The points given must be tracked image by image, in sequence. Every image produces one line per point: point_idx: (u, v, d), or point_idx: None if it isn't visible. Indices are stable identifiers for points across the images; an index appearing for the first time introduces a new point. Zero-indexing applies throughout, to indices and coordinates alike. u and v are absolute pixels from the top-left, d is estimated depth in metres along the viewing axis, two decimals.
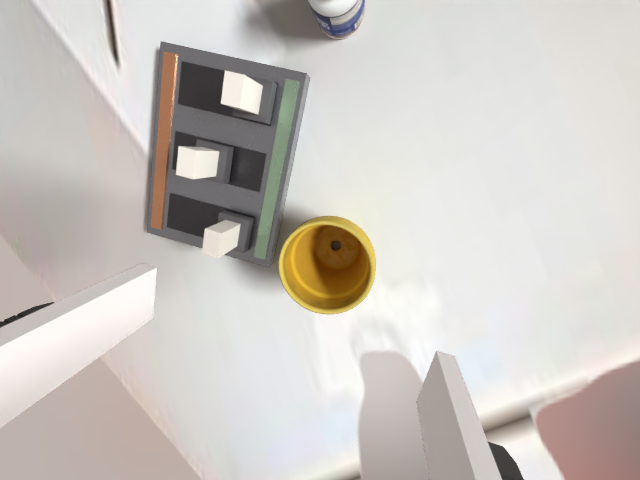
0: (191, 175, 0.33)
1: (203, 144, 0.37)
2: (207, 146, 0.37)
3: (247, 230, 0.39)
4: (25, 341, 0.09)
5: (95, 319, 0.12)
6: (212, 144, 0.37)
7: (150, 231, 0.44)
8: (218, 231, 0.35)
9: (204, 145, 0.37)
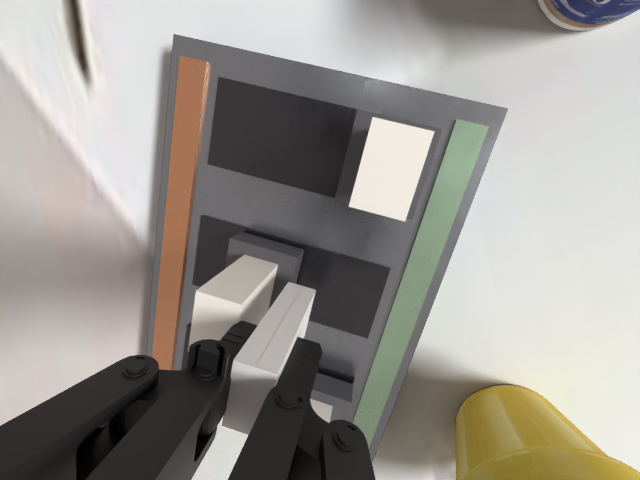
0: None
1: (243, 249, 0.18)
2: (252, 253, 0.18)
3: (345, 417, 0.20)
4: None
5: None
6: (263, 250, 0.17)
7: None
8: None
9: (247, 250, 0.18)
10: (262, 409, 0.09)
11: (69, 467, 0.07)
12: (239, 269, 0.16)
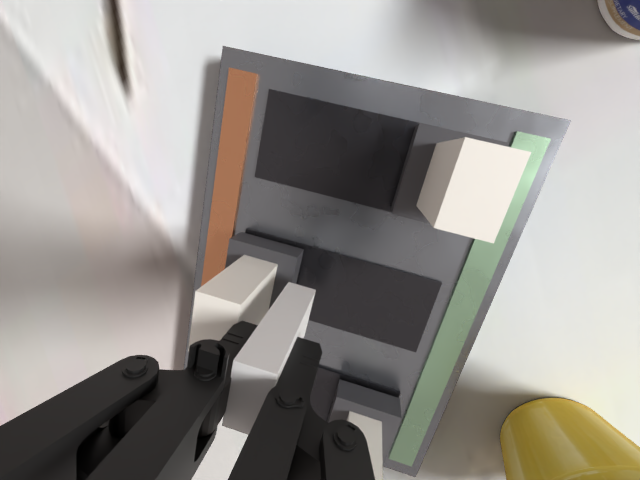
0: None
1: (243, 249, 0.18)
2: (252, 253, 0.18)
3: (394, 432, 0.19)
4: None
5: None
6: (263, 250, 0.17)
7: None
8: None
9: (246, 251, 0.18)
10: (262, 409, 0.09)
11: (70, 466, 0.07)
12: (239, 269, 0.16)
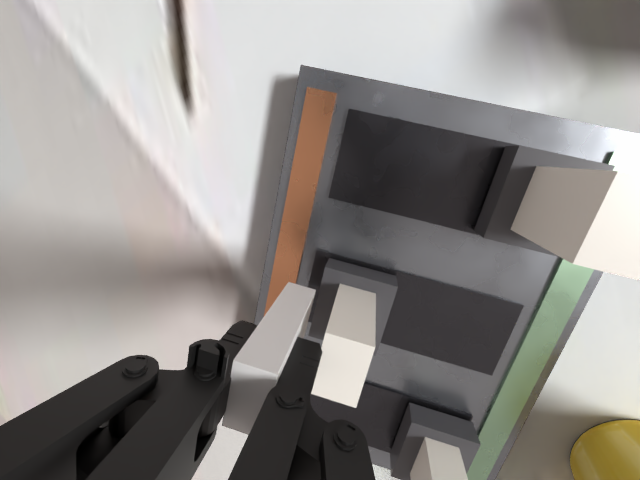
0: (351, 400, 0.13)
1: (339, 278, 0.17)
2: (348, 282, 0.17)
3: (471, 458, 0.19)
4: None
5: None
6: (361, 279, 0.17)
7: None
8: None
9: (342, 279, 0.17)
10: (262, 409, 0.09)
11: (70, 467, 0.07)
12: (346, 302, 0.15)
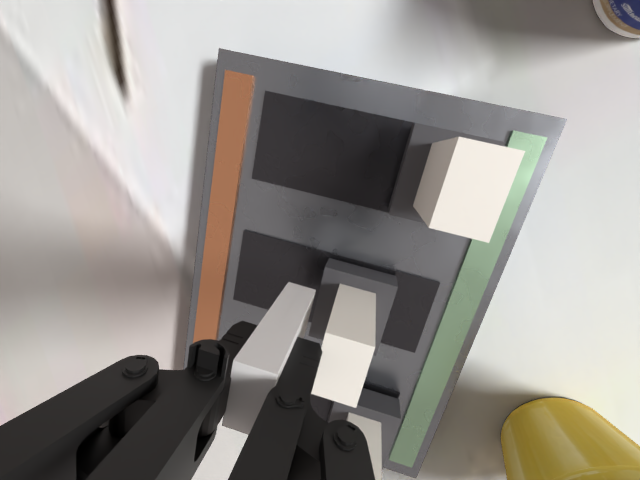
0: (351, 400, 0.13)
1: (339, 278, 0.17)
2: (348, 282, 0.17)
3: (393, 433, 0.19)
4: None
5: None
6: (360, 279, 0.17)
7: None
8: None
9: (343, 279, 0.17)
10: (262, 409, 0.09)
11: (69, 466, 0.07)
12: (346, 302, 0.15)
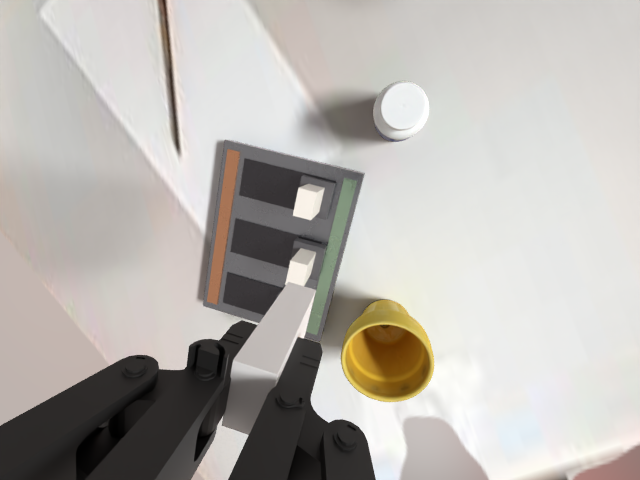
0: None
1: (300, 245, 0.39)
2: (304, 247, 0.39)
3: None
4: None
5: None
6: (309, 245, 0.39)
7: (206, 305, 0.47)
8: None
9: (302, 246, 0.39)
10: (262, 409, 0.09)
11: (69, 466, 0.07)
12: (301, 253, 0.38)
